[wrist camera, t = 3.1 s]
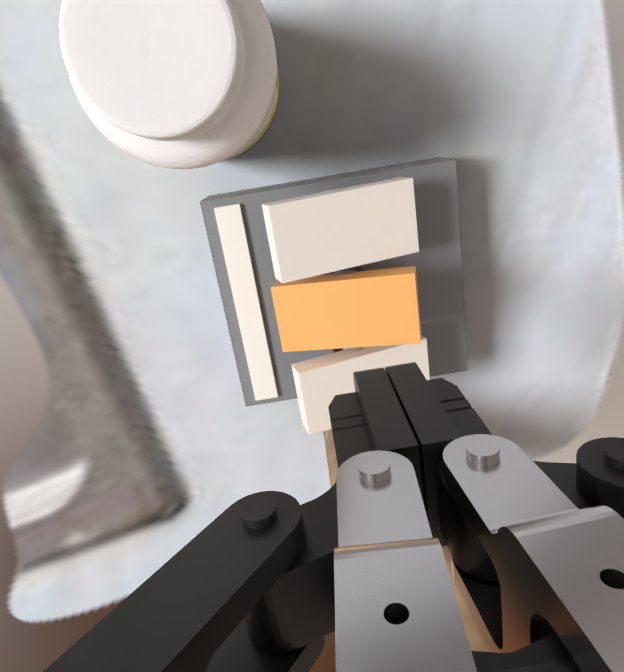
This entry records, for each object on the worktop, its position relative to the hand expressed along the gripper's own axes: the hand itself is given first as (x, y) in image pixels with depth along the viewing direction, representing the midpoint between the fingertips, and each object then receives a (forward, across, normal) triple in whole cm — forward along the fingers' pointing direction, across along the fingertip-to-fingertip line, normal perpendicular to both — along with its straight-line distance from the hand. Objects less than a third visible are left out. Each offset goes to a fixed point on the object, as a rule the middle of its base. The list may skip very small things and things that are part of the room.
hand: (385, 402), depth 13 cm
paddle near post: (+8, 0, +3) cm, 8 cm away
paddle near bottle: (+8, 0, -3) cm, 8 cm away
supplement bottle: (+12, +4, -9) cm, 16 cm away
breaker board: (+12, 0, 0) cm, 12 cm away
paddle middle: (+8, 0, 0) cm, 8 cm away
